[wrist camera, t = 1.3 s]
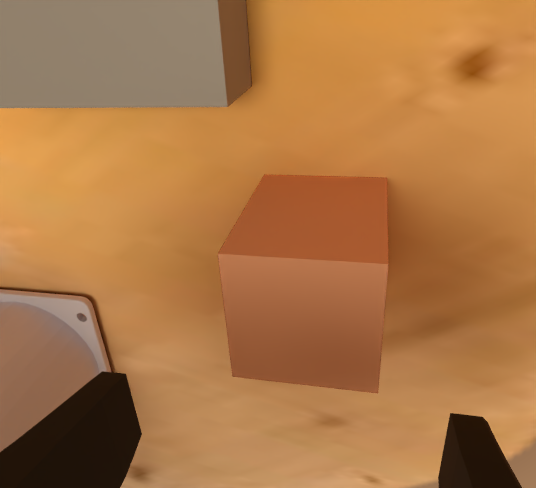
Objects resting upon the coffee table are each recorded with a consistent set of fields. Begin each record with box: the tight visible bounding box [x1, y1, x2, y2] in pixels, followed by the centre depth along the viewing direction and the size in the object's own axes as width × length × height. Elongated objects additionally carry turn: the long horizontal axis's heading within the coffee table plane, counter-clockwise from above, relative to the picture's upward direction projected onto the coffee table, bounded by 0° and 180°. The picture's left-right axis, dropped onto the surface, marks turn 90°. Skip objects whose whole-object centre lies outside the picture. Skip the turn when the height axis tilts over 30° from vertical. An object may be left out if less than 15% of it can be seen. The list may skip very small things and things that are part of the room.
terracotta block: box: [218, 175, 388, 393], centre depth 16 cm, size 4×4×6 cm
